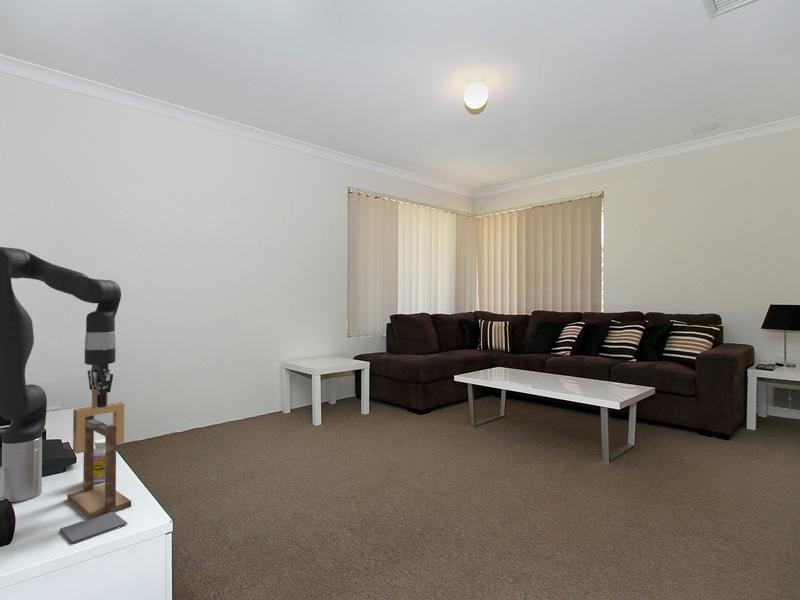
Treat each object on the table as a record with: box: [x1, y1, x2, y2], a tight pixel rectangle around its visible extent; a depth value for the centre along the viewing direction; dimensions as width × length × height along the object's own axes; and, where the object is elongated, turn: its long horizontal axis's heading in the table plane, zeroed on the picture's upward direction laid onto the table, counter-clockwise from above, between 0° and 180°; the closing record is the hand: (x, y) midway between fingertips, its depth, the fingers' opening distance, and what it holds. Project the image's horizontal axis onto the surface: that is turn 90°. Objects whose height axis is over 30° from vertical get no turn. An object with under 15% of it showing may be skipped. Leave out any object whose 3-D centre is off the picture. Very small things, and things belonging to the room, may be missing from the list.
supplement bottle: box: [93, 438, 105, 484], centre depth 147 cm, size 7×7×13 cm
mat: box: [59, 512, 128, 545], centre depth 115 cm, size 12×10×1 cm
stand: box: [67, 415, 132, 519], centre depth 130 cm, size 10×20×24 cm, turn 51°
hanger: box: [72, 387, 125, 454], centre depth 130 cm, size 12×3×17 cm, turn 141°
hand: (99, 405), depth 130 cm, fingers closed on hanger, 3 cm apart
